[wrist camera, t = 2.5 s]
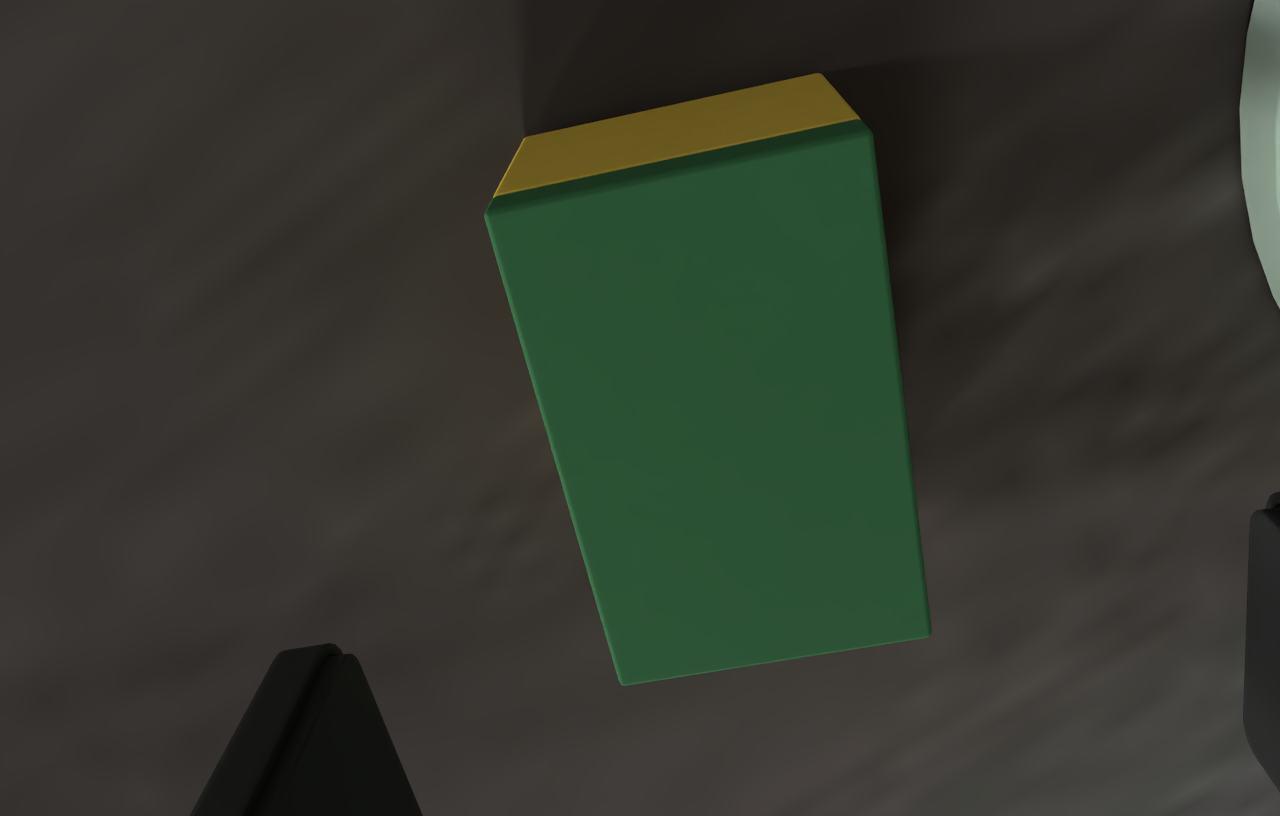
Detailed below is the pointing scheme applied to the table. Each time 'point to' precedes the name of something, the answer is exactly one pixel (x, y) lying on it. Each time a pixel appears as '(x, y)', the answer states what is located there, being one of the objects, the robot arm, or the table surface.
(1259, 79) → the plate
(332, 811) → the robot arm
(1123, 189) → the table surface
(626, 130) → the sponge
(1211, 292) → the table surface
